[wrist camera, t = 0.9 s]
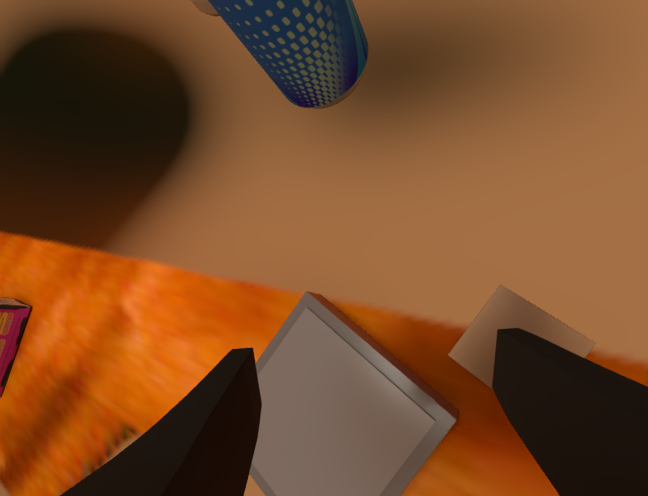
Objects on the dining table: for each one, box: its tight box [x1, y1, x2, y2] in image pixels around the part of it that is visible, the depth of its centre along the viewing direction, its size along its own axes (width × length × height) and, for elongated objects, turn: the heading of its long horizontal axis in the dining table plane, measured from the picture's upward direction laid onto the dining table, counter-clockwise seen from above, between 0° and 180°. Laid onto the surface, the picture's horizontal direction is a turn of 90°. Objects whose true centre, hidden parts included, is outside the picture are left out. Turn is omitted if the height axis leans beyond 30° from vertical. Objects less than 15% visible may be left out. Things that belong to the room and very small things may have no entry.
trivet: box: [249, 292, 459, 496], centre depth 23 cm, size 12×12×3 cm
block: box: [448, 285, 596, 390], centre depth 18 cm, size 4×4×5 cm
